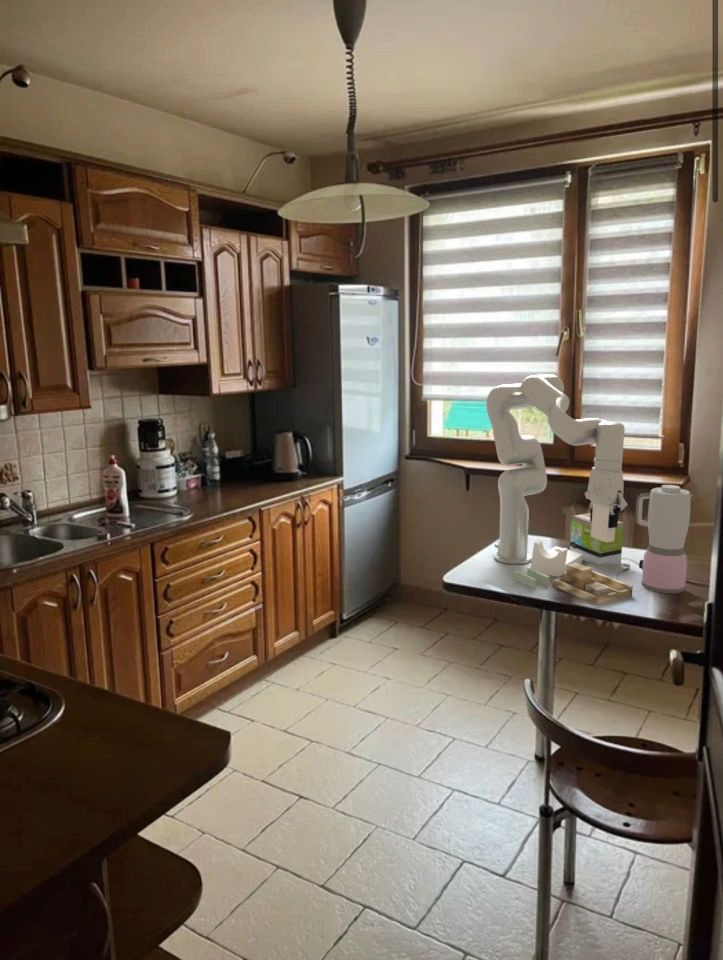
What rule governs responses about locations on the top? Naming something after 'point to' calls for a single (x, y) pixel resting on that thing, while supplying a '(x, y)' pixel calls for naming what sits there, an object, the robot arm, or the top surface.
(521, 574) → the holder
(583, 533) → the tea box
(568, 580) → the offcut
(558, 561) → the white saddle block
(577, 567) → the offcut
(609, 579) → the tray
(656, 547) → the blender
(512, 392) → the robot arm
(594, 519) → the tall board
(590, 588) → the offcut
